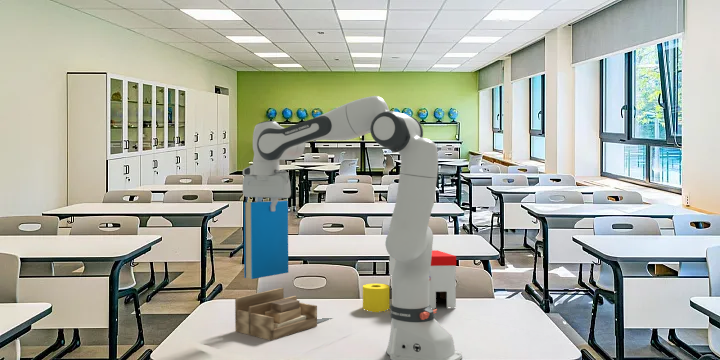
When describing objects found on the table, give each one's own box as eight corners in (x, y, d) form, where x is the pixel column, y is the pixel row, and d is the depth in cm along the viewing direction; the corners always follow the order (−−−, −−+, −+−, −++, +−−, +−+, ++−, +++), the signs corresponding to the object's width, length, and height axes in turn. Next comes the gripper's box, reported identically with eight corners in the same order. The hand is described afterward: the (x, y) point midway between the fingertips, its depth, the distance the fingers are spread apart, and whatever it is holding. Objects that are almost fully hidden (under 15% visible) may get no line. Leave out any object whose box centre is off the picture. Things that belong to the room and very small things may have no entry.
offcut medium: (300, 316, 197) (300, 307, 197) (279, 323, 188) (279, 314, 188) (286, 314, 200) (286, 305, 200) (265, 321, 191) (265, 312, 191)
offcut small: (299, 308, 196) (299, 300, 196) (281, 312, 190) (281, 304, 190) (289, 305, 199) (289, 298, 199) (271, 310, 193) (270, 302, 193)
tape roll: (357, 310, 223) (357, 285, 222) (379, 306, 228) (379, 282, 228) (372, 315, 214) (372, 289, 214) (394, 312, 220) (394, 286, 220)
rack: (317, 326, 200) (316, 293, 200) (271, 340, 183) (271, 305, 183) (281, 318, 210) (281, 287, 210) (235, 331, 194) (235, 297, 194)
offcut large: (306, 324, 198) (306, 315, 198) (277, 334, 187) (277, 324, 187) (290, 321, 202) (290, 312, 202) (261, 330, 191) (261, 321, 191)
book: (252, 279, 191) (251, 202, 191) (243, 278, 194) (243, 202, 193) (290, 272, 205) (289, 200, 204) (281, 271, 207) (280, 200, 207)
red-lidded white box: (401, 313, 219) (401, 257, 218) (389, 293, 254) (389, 244, 253) (456, 312, 220) (456, 256, 220) (437, 292, 255) (437, 244, 255)
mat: (352, 313, 218) (352, 312, 218) (315, 324, 202) (315, 323, 202) (331, 309, 224) (331, 308, 224) (294, 319, 208) (294, 318, 208)
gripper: (295, 169, 195) (295, 211, 195) (253, 170, 208) (253, 209, 208) (281, 169, 190) (281, 212, 190) (239, 170, 203) (239, 210, 203)
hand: (266, 211), depth 199 cm, fingers closed on book, 4 cm apart
